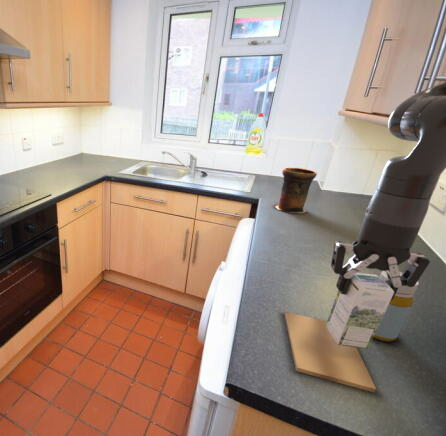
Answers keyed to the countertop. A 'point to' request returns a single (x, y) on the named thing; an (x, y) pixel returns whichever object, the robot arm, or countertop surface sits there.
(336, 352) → the oak board
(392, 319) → the bottle
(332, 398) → the countertop surface
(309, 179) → the vessel
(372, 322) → the syrup box
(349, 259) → the robot arm
